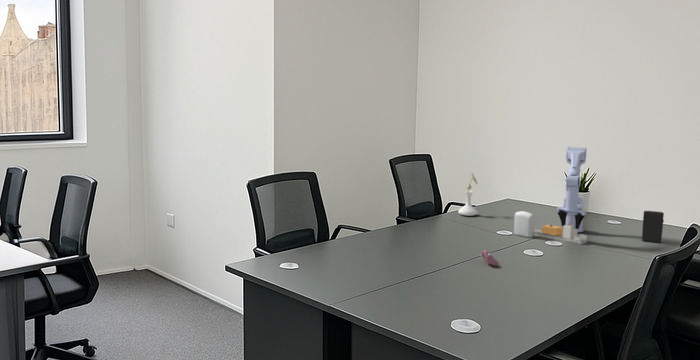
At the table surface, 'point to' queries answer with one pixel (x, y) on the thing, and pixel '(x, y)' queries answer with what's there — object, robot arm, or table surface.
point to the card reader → (652, 226)
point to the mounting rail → (577, 238)
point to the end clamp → (552, 229)
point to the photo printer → (523, 224)
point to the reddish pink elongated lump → (489, 258)
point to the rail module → (569, 231)
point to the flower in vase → (468, 208)
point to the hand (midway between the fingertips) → (570, 227)
